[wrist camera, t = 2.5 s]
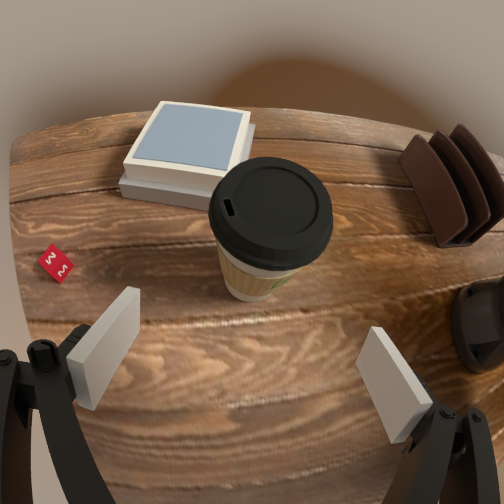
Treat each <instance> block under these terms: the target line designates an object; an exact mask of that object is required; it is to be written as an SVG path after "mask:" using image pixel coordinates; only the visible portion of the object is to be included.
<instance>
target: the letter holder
mask: <svg viewBox="0 0 504 504" xmlns="http://www.w3.org/2000/svg"><path fill="white" fill-rule="evenodd" d="M399 161H400V163H401V165H402V167H403V169H404V171H405V172H406V174H407V176H408V178H409V180H410V182H411V184H412V186H413V188H414V190H415V192H416V195H417V197H418V199H419V201H420V203H421V205H422V207H423V210H424V212H425V214H426V216H427V219H428V221H429V223H430V226H431V228H432V230H433V233H434V235H435V238H436V240H437V243H438V245H439V248H450V247H464V246H470V245H472V244H473V243H474V242H475V241H477V240H478V239H479V238H480V237H482V236H483V235H484V234H485V233H486V232H488V231H489V230H490V229H491V228H492V227H493V226H494V225H496V224H497V223H498V222H499V221H500V220H501V219H503V218H504V182H503V180H502V178H501V176H500V174H499V172H498V170H497V168H496V167H495V165H494V163H493V162H492V160H491V159H490V157H489V156H488V154H487V153H486V151H485V150H484V149H483V147H482V146H481V145H480V143H479V142H478V141H477V140H476V138H475V137H474V136H473V135H472V134H471V133H470V132H469V131H468V130H467V129H466V128H465V127H464V126H463V125H462V124H458V125H457V126H456V127H455V129H454V130H453V132H452V133H451V135H450V136H449V137H448V136H447V135H446V134H445V133H444V132H443V131H442V130H437V131H436V132H435V133H434V135H433V136H432V138H431V139H430V141H429V142H427V141H426V140H425V139H424V138H423V137H422V136H421V135H419V134H417V135H415V136H414V137H413V139H412V140H411V142H410V143H409V144H408V146H407V147H406V149H405V150H404V152H403V153H402V154H401V156H400V157H399Z"/></svg>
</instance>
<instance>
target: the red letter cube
mask: <svg viewBox="0 0 504 504" xmlns="http://www.w3.org/2000/svg"><path fill="white" fill-rule="evenodd" d="M38 263H39V264H40V265H41V266H42V267H43V268H44V269H45V270H46V271H47V272H48V273H49V274H50V275H51V276H52V277H53V278H55V279H56V280H57V281H58V282H59V283H60V284H61V282H62V281H63V280H64V278H65V277H66V276H67V274H68V273H69V272H70V271H71V269H72V268H73V267H74V265H73V264H72V263H71V261H70V260H69V259H68V258H67V257H66V256H65V255H64V254H63V253H62V252H61V251H60V250H59V249H58V248H57V247H56V246H54V245H53V244H51V245H50V246H49V247H48V249H47V250H46V251H45V252H44V254H43V255H42V256H41V258H40V259H39V260H38Z"/></svg>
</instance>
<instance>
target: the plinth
mask: <svg viewBox="0 0 504 504" xmlns="http://www.w3.org/2000/svg"><path fill="white" fill-rule="evenodd" d="M250 113H251V112H248V111H242V110H236V109H230V108H223V107H216V106H207V105H198V104H190V103H179V102H167V101H161V102H160V103H159V105H158V106H157V108H156V109H155V111H154V112H153V114H152V115H151V117H150V119H149V120H148V122H147V123H146V125H145V126H144V128H143V130H142V131H141V133H140V135H139V136H138V138H137V139H136V141H135V143H134V145H133V146H132V148H131V150H130V151H129V153H128V155H127V157H126V158H125V160H124V162H123V165H124V168H125V171H124V173H123V175H122V177H121V179H120V181H119V183H118V185H119V187H120V190H121V193H122V196H123V198H130V199H137V200H143V201H150V202H156V203H162V204H168V205H175V206H181V207H187V208H192V209H198V210H204V211H209V203H210V200H211V197H212V194H213V191H214V190H215V188H216V186H217V185H218V183H219V182H220V181H221V180H222V179H223V178H224V177H225V175H226V174H227V173H228V172H229V171H230V170H231V169H232V168H233V167H235V166H236V165H238V164H239V163H241V162H244V161H246V160H248V158H249V154H250V149H251V145H252V140H253V135H254V129H255V124H250V123H249V119H250Z"/></svg>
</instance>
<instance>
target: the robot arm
mask: <svg viewBox="0 0 504 504" xmlns="http://www.w3.org/2000/svg"><path fill="white" fill-rule="evenodd" d="M451 324H452V334H453V339H454V343H455V347H456V350H457V352H458V354H459V356H460V358H461V360H462V362H463V363H464V364H465V365H466V367H467V368H469V369H470V370H471V371H473V372H475V373H484V372H488V371H492V370H494V369H496V368H498V367H499V366H500V365H502V364H503V363H504V276H502V277H499V278H493V279H486V280H479V281H475V282H472V283H470V284H469V285H467V286H465V287H464V288H462V289H461V290H460V291H459V293H458V294H457V296H456V298H455V300H454V304H453V308H452V317H451ZM139 332H140V289H138V288H133V287H129V286H127V288H126V289H125V290H124V291H123V292H122V293H121V294H120V295H119V296H118V297H117V298H116V300H115V301H114V302H113V303H112V304H111V305H110V306H109V307H108V309H107V310H106V311H105V312H104V313H103V314H102V315H101V316H100V318H99V319H98V320H97V321H96V322H95V323H94V324H93V326H89V325H86V324H82V325H80V326H78V327H76V328H75V329H74V330H73V331H72V332H71V333H70V335H68V337H67V338H66V339H65V340H64V341H63V342H62V343H61V344H60V345H59V347H58V348H57V346H56V344H55V343H53V342H52V341H50V340H46V339H40V340H36V341H34V342H32V343H31V344H30V345H29V346H28V348H27V354H28V357H29V360H30V363H28V362H22V361H18V358H17V356H16V354H15V353H14V352H13V351H11V350H7V349H6V350H0V504H33V499H32V498H33V497H32V486H31V485H32V484H31V426H32V412H33V409H38V410H39V413H40V418H41V422H42V426H43V430H44V434H45V438H46V441H47V445H48V448H49V452H50V455H51V458H52V461H53V464H54V467H55V470H56V473H57V476H58V478H59V481H60V484H61V486H62V489H63V491H64V494H65V496H66V499H67V501H68V503H69V504H116V503H115V501H114V499H113V497H112V496H111V494H110V492H109V490H108V488H107V486H106V484H105V482H104V480H103V478H102V476H101V474H100V472H99V470H98V468H97V466H96V464H95V461H94V459H93V457H92V455H91V452H90V450H89V448H88V445H87V443H86V440H85V438H84V435H83V433H82V430H81V428H80V425H79V422H78V419H77V416H76V414H75V411H74V408H73V405H72V402H73V401H74V399H75V398H76V399H77V402H78V405H79V406H81V407H84V408H86V409H89V410H92V411H94V410H95V408H96V407H97V405H98V403H99V401H100V399H101V397H102V396H103V394H104V392H105V390H106V388H107V387H108V385H109V383H110V381H111V379H112V378H113V376H114V374H115V372H116V371H117V369H118V367H119V365H120V364H121V362H122V360H123V359H124V357H125V355H126V353H127V352H128V350H129V348H130V347H131V345H132V343H133V342H134V340H135V338H136V337H137V335H138V333H139ZM355 364H356V366H357V368H358V370H359V372H360V375H361V377H362V379H363V381H364V383H365V385H366V388H367V390H368V392H369V394H370V396H371V399H372V401H373V403H374V405H375V407H376V410H377V412H378V414H379V417H380V419H381V421H382V423H383V426H384V428H385V430H386V433H387V435H388V437H389V440H390V442H391V444H394V443H400V442H404V441H405V440H406V439H407V437H408V436H409V435H410V434H411V436H412V438H413V439H412V440H411V442H410V443H409V444H408V445H407V446H406V448H405V449H404V450H403V451H402V454H403V453H404V452H405V451H406V453H405V455H404V457H403V460H402V462H401V464H400V467H399V469H398V471H397V473H396V476H395V478H394V480H393V482H392V484H391V486H390V488H389V490H388V492H387V494H386V496H385V498H384V500H383V502H382V504H438V501H439V504H500V492H499V483H498V475H497V468H496V462H495V456H494V451H493V445H492V441H491V436H490V431H489V427H488V423H487V419H486V417H485V415H484V414H483V412H481V411H480V410H477V409H471V410H469V412H468V413H467V414H466V416H460V415H457V414H456V412H455V411H454V410H453V409H452V408H450V407H449V406H446V405H440V404H439V402H438V401H437V399H436V398H435V396H434V395H433V393H432V392H431V390H430V389H429V387H428V386H427V384H425V381H424V380H423V378H422V377H421V376H420V375H419V374H418V373H416V372H415V371H412V370H411V368H410V367H409V365H408V364H407V362H406V361H405V359H404V358H403V357H402V355H401V354H400V352H399V351H398V349H397V348H396V346H395V345H394V344H393V342H392V341H391V339H390V338H389V337H388V335H387V334H386V332H385V331H384V330H383V328H382V327H372V326H371V328H370V331H369V333H368V335H367V338H366V340H365V342H364V345H363V347H362V349H361V352H360V354H359V356H358V358H357V360H356V363H355ZM465 448H466V451H465V453H464V449H465ZM439 498H440V499H439Z"/></svg>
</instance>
